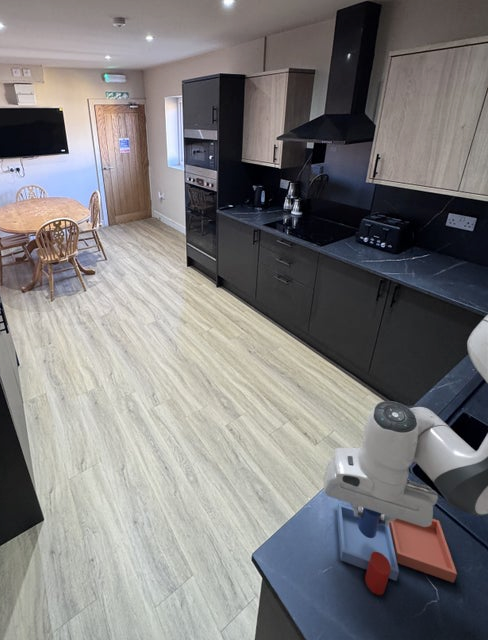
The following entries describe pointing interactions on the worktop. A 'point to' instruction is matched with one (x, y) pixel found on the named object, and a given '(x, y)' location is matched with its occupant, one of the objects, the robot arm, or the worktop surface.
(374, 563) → the red peg
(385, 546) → the blue bin
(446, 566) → the red bin
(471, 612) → the worktop surface
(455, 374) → the worktop surface
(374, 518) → the blue peg
